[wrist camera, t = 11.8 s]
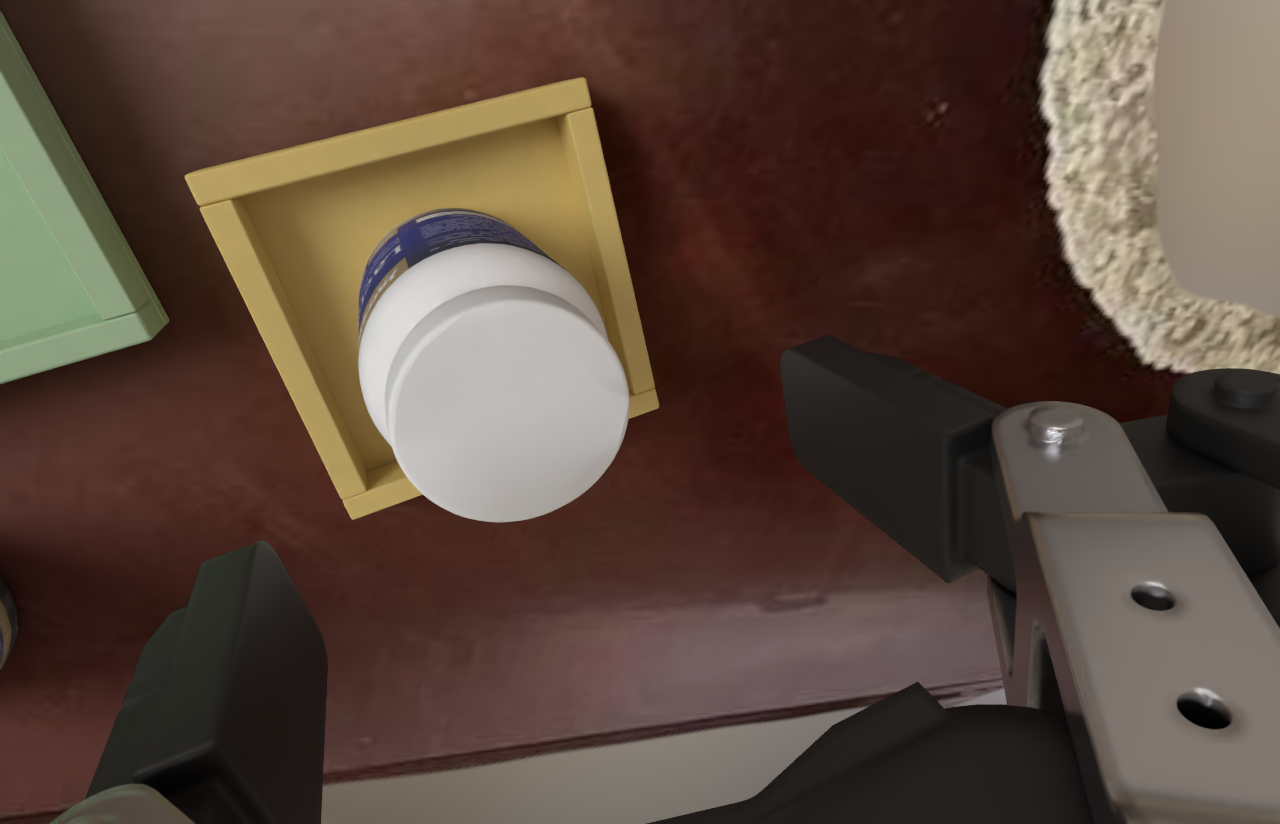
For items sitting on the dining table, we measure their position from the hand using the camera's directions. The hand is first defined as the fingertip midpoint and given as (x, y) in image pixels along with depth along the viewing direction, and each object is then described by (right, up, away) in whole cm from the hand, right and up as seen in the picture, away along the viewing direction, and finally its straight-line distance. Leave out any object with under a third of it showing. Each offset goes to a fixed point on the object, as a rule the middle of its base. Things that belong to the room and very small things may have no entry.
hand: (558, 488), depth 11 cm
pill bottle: (-5, +5, +11) cm, 13 cm away
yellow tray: (-5, +5, +12) cm, 14 cm away
